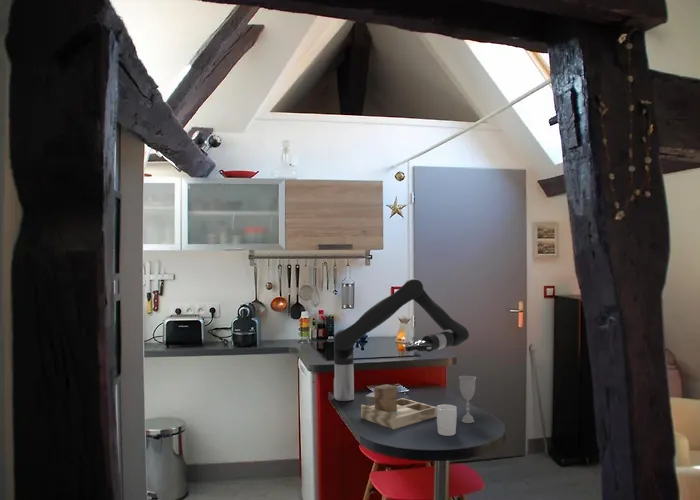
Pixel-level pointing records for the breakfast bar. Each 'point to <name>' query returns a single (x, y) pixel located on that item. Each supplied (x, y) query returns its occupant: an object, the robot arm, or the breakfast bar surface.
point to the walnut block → (386, 398)
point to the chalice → (467, 394)
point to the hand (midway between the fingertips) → (406, 349)
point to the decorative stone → (370, 399)
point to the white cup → (446, 419)
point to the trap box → (399, 414)
